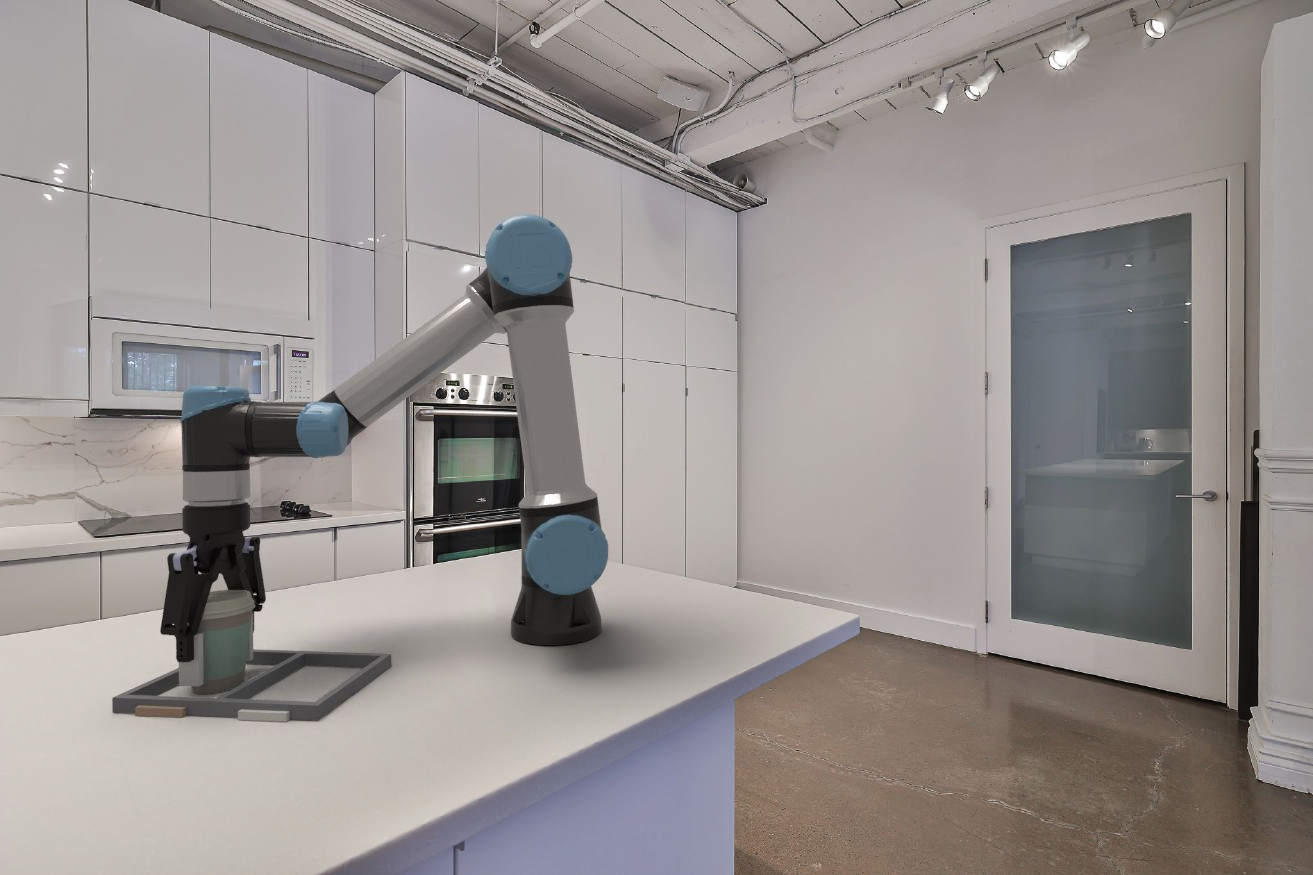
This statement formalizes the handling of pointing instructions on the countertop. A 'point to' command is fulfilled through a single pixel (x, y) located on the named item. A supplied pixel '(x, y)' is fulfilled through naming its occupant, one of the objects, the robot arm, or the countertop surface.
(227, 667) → the coffee cup
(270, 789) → the countertop surface
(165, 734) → the countertop surface
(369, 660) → the divided tray
